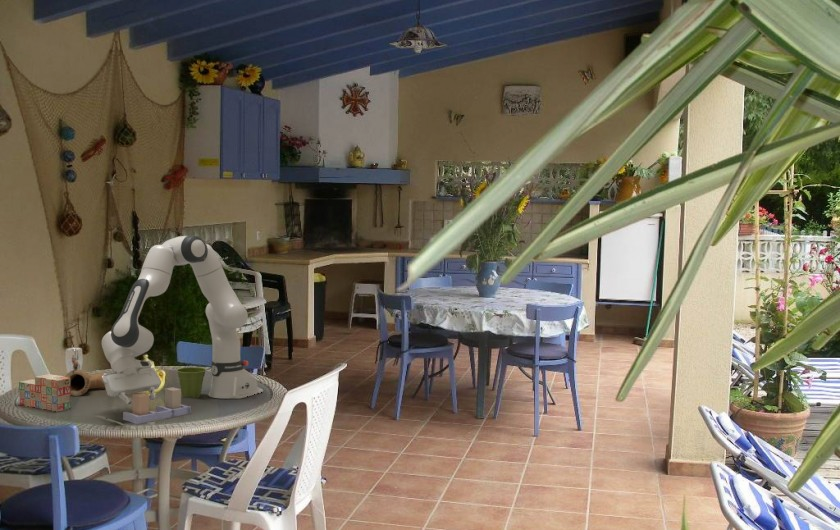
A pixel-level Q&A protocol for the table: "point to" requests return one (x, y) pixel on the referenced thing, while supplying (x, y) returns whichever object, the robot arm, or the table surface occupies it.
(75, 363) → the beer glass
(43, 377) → the stack of blocks
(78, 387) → the clay pipe
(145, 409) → the tan rectangular block
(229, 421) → the table surface
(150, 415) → the rack
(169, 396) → the beige upright block
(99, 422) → the table surface
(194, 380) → the plant pot
